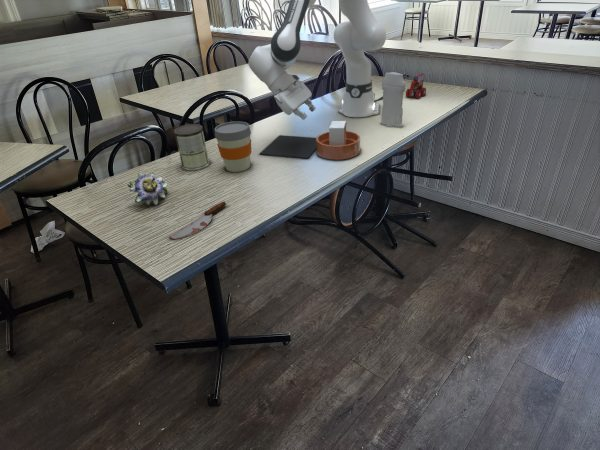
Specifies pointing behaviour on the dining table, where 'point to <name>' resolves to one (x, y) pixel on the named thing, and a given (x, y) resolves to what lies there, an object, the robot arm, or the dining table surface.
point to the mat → (291, 147)
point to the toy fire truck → (416, 87)
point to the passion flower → (148, 188)
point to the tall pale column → (392, 99)
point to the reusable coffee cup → (234, 145)
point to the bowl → (338, 147)
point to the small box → (337, 133)
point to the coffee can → (191, 146)
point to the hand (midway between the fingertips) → (309, 114)
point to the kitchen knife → (198, 222)
